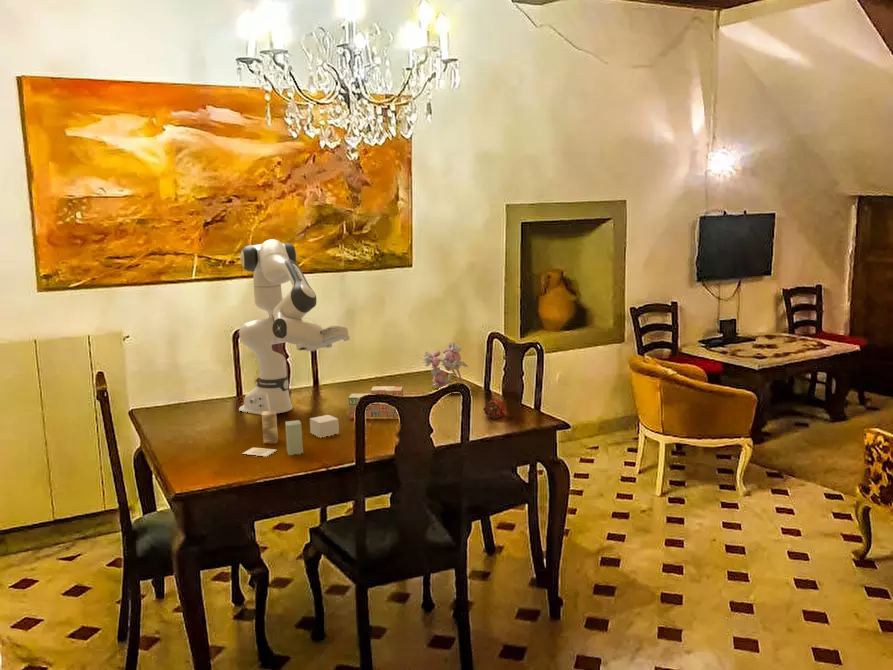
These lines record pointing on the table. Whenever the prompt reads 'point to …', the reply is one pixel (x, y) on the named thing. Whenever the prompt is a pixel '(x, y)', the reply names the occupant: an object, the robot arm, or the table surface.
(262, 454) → the card
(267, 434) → the birch block
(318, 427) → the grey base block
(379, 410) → the stack of blocks
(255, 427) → the table surface
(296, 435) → the sage block
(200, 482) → the table surface
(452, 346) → the flower
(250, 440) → the table surface
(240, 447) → the table surface
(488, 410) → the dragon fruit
